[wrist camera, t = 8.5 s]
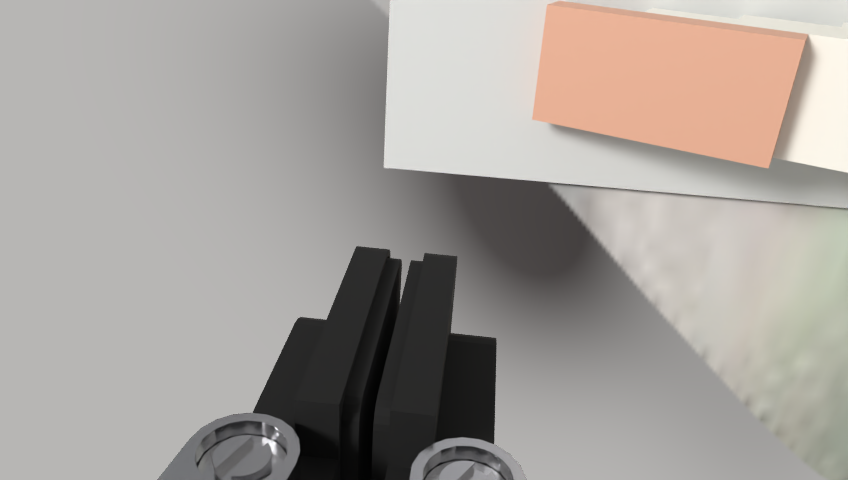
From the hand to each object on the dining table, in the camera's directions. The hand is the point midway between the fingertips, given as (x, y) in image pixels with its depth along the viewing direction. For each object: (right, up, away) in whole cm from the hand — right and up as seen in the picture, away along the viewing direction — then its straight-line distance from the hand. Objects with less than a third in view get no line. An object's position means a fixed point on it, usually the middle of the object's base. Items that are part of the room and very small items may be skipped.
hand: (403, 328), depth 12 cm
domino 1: (+6, +9, +20) cm, 23 cm away
